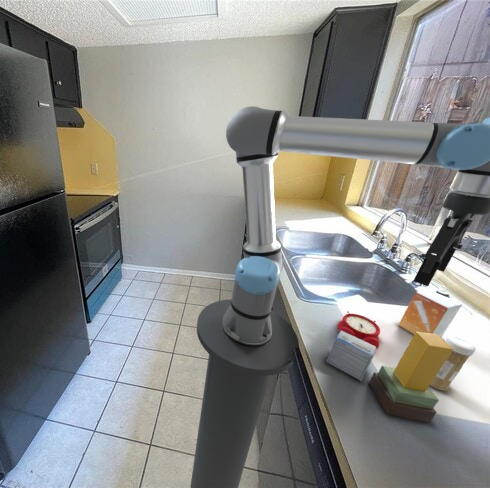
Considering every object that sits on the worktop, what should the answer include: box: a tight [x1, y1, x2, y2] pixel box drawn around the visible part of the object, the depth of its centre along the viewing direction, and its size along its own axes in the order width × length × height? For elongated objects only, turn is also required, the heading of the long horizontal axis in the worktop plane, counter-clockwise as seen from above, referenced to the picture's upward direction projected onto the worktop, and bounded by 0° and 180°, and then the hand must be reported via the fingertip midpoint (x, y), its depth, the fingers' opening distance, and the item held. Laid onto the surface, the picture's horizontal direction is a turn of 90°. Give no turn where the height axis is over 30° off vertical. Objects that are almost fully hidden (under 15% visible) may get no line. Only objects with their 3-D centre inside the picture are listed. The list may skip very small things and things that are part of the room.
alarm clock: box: [337, 311, 381, 350], centre depth 76 cm, size 10×6×15 cm
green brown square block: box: [368, 365, 440, 424], centre depth 58 cm, size 8×8×6 cm
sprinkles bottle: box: [430, 334, 477, 391], centre depth 61 cm, size 5×5×14 cm
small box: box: [398, 288, 463, 339], centre depth 77 cm, size 8×6×13 cm
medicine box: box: [325, 331, 377, 382], centre depth 65 cm, size 8×4×9 cm, turn 44°
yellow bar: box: [394, 331, 453, 392], centre depth 54 cm, size 4×4×12 cm
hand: (429, 276), depth 66 cm, fingers open, 13 cm apart
